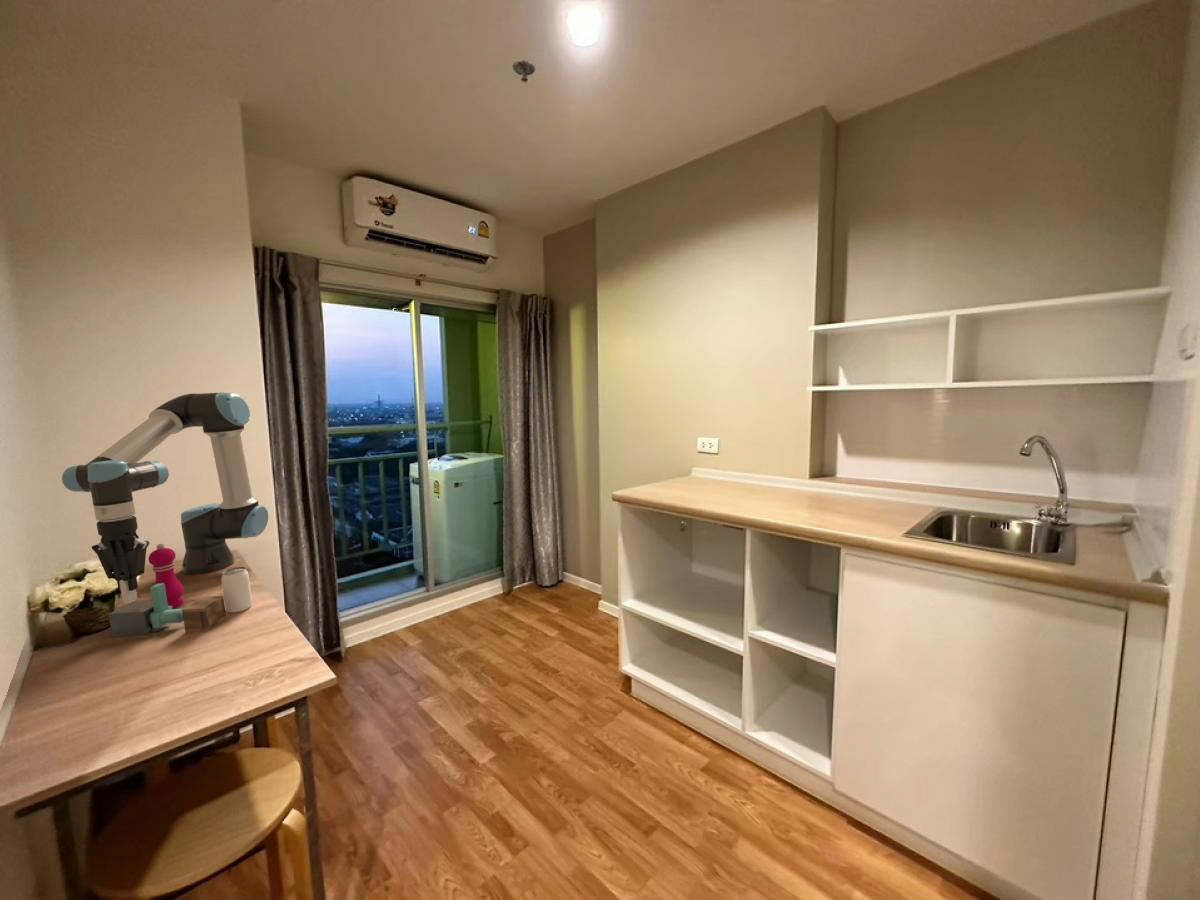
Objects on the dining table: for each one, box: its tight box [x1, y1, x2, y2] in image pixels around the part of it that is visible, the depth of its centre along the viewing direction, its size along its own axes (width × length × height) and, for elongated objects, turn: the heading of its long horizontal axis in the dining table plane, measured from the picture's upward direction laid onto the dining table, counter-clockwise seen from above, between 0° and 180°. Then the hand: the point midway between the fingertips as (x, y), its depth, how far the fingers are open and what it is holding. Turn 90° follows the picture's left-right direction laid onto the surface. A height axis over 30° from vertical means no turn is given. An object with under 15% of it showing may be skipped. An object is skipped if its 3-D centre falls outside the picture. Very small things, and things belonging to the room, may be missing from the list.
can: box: [220, 566, 253, 614], centre depth 142 cm, size 6×6×12 cm
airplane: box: [148, 583, 184, 629], centre depth 131 cm, size 16×5×11 cm, turn 94°
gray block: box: [108, 600, 159, 638], centre depth 131 cm, size 7×9×7 cm
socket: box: [181, 595, 227, 634], centre depth 132 cm, size 8×6×7 cm
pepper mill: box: [148, 543, 185, 609], centre depth 144 cm, size 7×7×20 cm
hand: (130, 601), depth 130 cm, fingers closed
